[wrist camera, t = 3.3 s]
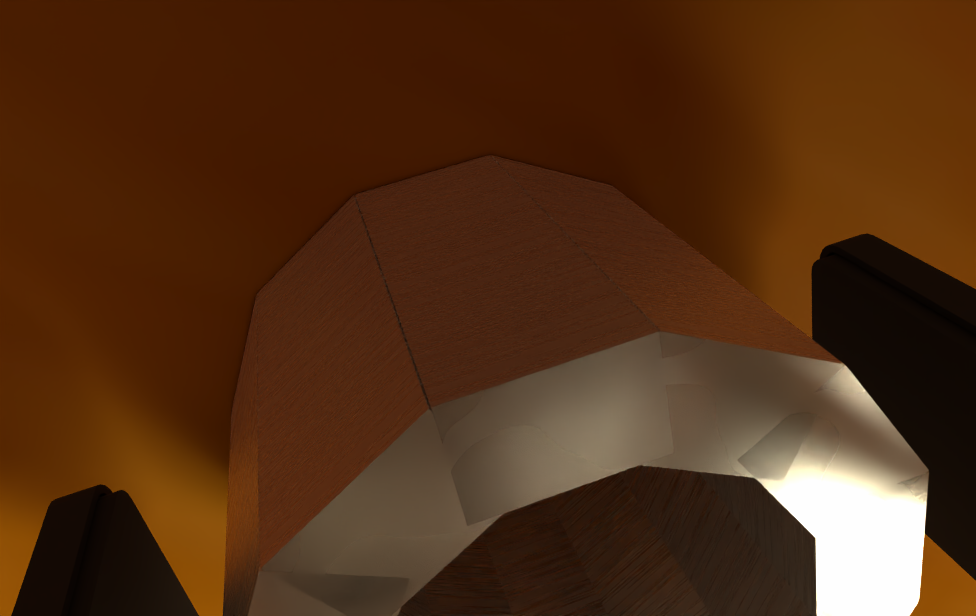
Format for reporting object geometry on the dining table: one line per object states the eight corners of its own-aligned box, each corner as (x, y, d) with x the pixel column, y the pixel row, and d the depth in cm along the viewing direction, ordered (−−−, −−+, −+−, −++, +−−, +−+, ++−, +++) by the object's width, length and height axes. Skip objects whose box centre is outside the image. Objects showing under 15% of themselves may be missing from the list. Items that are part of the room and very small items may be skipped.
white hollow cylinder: (665, 103, 11) (948, 234, 6) (704, 482, 14) (906, 739, 10) (157, 252, 10) (81, 524, 5) (326, 619, 13) (363, 969, 9)
